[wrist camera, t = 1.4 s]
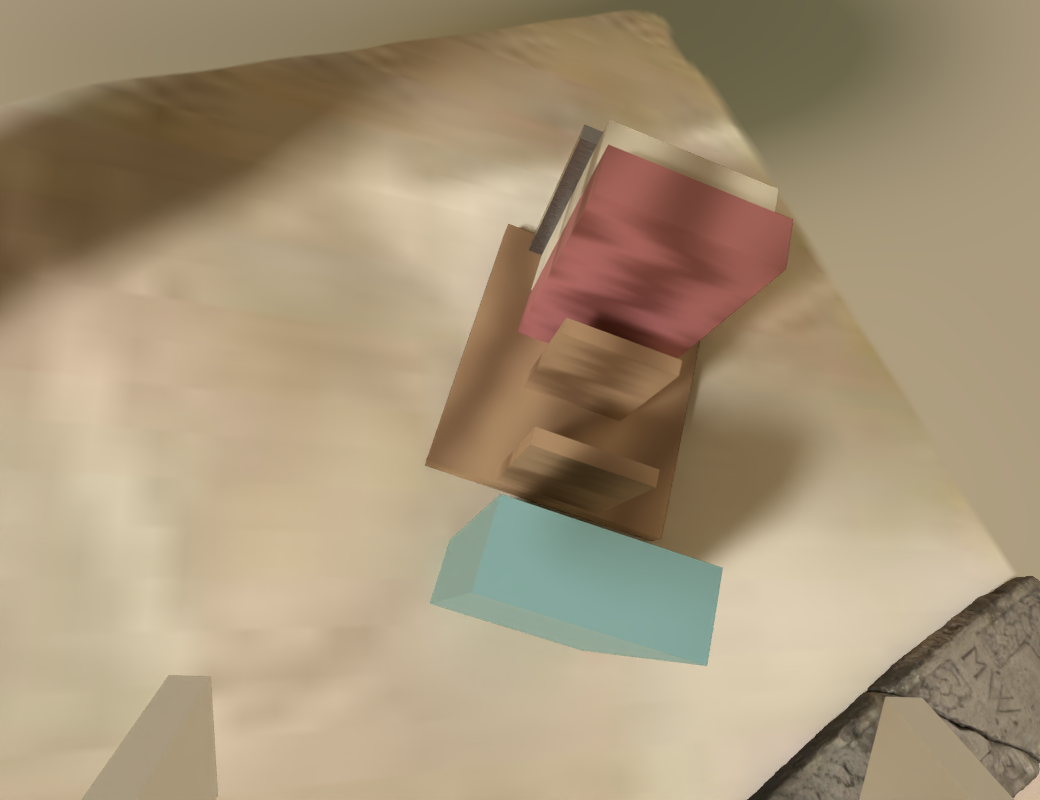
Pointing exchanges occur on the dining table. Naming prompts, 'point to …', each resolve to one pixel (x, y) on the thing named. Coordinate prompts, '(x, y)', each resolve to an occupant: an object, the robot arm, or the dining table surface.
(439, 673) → the dining table surface
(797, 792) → the stone slab
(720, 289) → the book rack
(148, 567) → the dining table surface
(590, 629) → the book
